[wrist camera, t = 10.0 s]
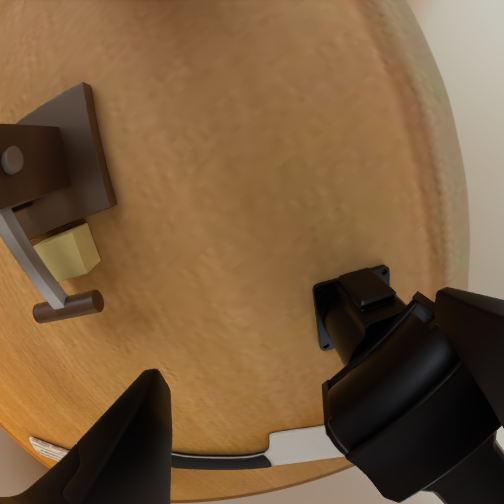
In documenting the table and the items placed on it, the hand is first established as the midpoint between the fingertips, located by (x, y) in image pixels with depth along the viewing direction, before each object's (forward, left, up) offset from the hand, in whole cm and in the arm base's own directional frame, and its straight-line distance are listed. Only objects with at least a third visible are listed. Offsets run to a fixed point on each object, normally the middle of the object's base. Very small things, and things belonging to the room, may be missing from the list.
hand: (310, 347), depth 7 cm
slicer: (+9, +14, -12) cm, 20 cm away
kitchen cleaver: (-28, +2, -12) cm, 31 cm away
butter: (+2, +14, -12) cm, 19 cm away
